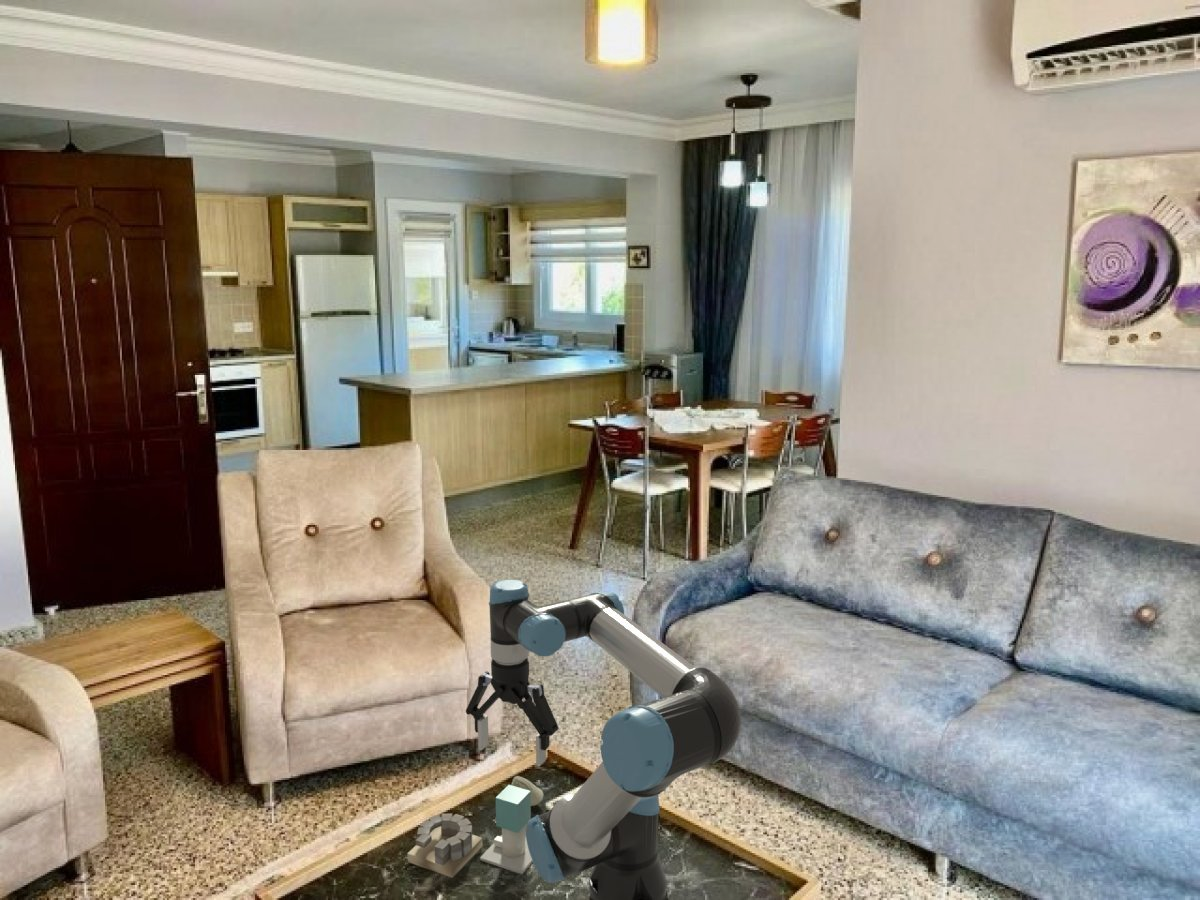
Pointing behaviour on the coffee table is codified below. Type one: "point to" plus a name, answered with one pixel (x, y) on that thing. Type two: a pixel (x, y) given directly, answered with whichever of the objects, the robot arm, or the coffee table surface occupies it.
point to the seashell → (527, 785)
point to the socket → (444, 844)
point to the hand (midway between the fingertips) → (511, 754)
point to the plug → (512, 820)
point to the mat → (507, 859)
